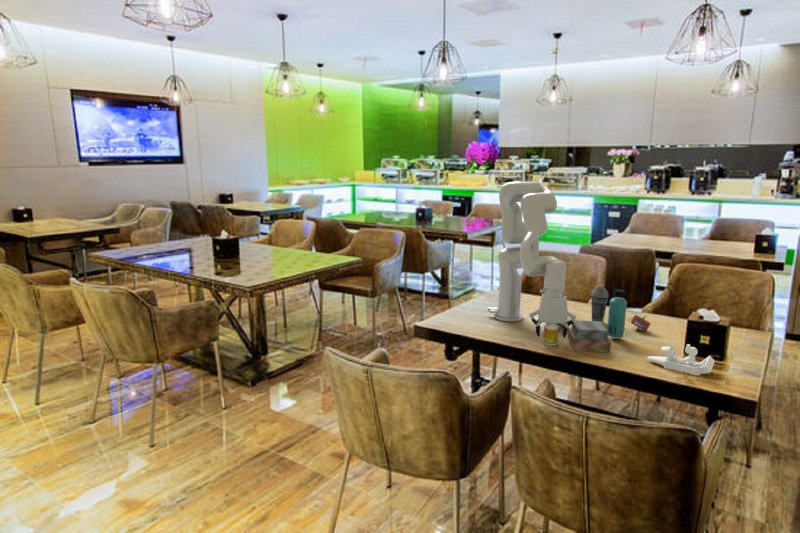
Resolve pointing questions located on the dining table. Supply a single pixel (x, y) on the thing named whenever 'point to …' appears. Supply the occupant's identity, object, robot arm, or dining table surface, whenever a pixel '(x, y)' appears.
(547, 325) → the supplement bottle
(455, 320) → the dining table surface
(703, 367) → the toy boat
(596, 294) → the beverage cup
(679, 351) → the dining table surface
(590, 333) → the mottled stone block
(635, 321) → the geometric puzzle
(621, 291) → the beverage bottle
